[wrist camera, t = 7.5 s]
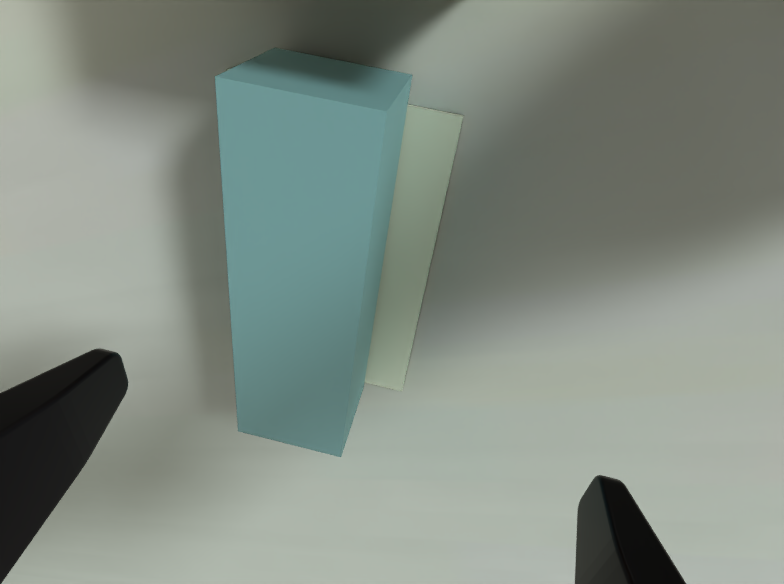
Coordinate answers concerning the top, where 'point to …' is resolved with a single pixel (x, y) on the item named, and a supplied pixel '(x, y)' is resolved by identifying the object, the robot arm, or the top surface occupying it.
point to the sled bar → (305, 235)
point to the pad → (411, 239)
